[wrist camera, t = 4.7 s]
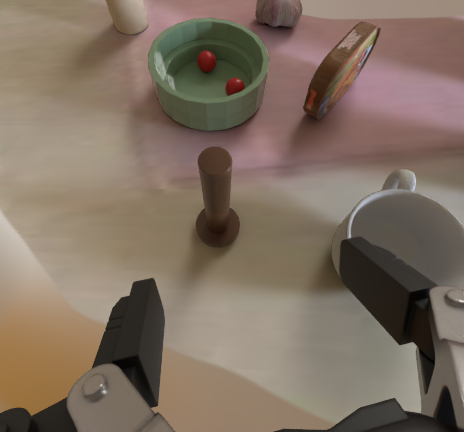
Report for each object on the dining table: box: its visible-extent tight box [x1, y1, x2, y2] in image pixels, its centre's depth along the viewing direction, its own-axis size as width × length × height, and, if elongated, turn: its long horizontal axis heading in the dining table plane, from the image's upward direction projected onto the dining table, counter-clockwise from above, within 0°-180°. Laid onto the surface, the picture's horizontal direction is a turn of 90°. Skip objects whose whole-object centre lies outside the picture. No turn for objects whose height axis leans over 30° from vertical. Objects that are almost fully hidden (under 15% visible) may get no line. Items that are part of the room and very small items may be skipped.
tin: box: [303, 22, 381, 120], centre depth 36 cm, size 15×3×8 cm, turn 141°
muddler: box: [196, 147, 240, 247], centre depth 25 cm, size 5×5×14 cm
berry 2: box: [225, 78, 245, 96], centre depth 37 cm, size 3×3×3 cm
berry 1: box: [197, 51, 216, 73], centre depth 39 cm, size 3×3×3 cm
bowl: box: [148, 18, 269, 131], centre depth 37 cm, size 16×16×6 cm
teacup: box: [332, 169, 464, 289], centre depth 27 cm, size 14×11×8 cm
